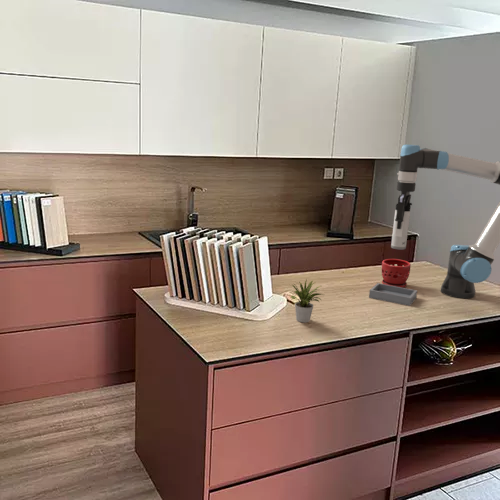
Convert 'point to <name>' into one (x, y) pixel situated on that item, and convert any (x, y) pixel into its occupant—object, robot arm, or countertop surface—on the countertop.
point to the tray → (393, 294)
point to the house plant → (305, 302)
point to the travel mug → (401, 241)
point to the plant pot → (395, 272)
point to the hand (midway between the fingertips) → (400, 234)
